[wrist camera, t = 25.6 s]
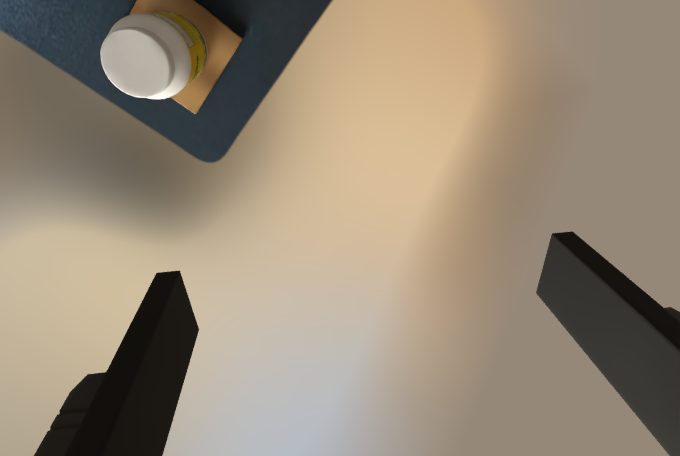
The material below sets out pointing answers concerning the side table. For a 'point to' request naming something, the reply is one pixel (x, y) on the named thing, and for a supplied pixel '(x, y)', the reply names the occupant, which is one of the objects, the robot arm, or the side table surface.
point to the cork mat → (217, 40)
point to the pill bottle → (153, 54)
